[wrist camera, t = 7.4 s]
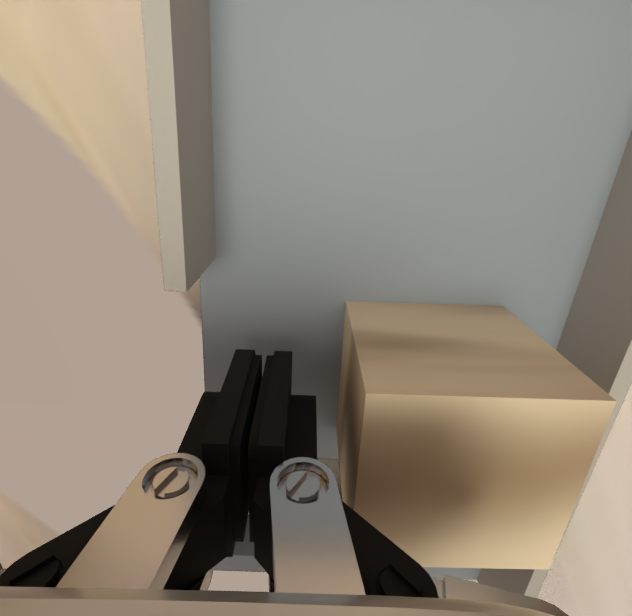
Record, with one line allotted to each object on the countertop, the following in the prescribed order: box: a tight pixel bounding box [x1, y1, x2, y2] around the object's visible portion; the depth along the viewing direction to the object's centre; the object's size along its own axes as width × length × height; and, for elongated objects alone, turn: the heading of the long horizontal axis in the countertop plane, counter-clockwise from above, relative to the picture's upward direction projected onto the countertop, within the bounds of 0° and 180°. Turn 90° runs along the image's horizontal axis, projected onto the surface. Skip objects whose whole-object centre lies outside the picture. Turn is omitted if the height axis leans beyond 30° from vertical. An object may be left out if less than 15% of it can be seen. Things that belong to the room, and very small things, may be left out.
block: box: [336, 301, 617, 570], centre depth 11 cm, size 5×5×5 cm
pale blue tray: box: [141, 0, 632, 598], centre depth 13 cm, size 22×12×5 cm, turn 176°
